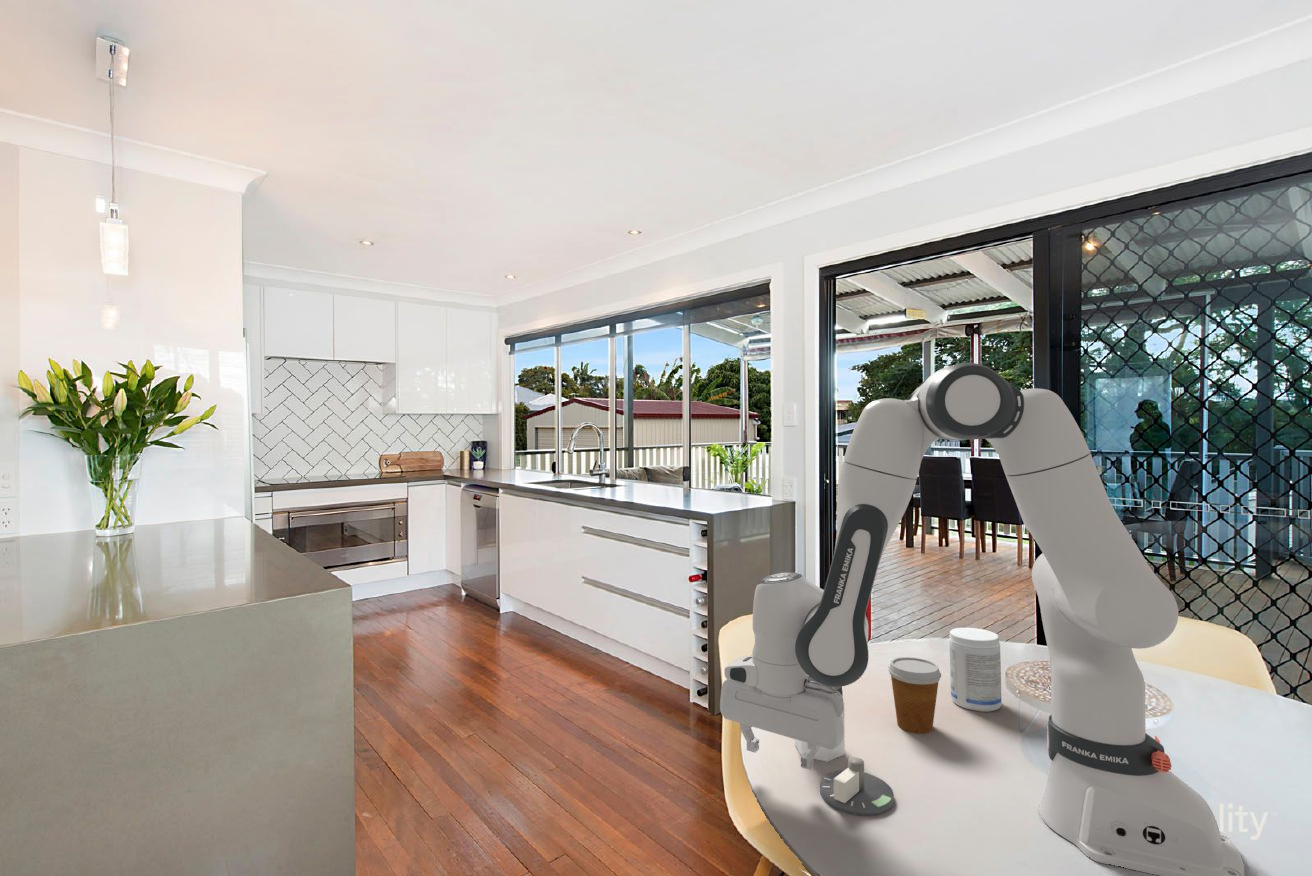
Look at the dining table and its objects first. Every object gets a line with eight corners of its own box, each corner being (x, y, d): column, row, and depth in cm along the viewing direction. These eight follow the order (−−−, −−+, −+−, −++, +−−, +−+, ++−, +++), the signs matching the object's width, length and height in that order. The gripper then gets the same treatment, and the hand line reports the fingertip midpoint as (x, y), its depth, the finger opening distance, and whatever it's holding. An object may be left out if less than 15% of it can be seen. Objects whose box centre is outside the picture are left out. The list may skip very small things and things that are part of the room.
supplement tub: (1010, 705, 132) (1009, 635, 132) (987, 718, 126) (986, 644, 126) (964, 690, 140) (963, 624, 140) (940, 701, 134) (940, 632, 134)
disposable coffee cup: (890, 734, 120) (889, 671, 120) (887, 713, 129) (886, 654, 129) (945, 741, 117) (944, 676, 117) (938, 719, 126) (937, 658, 126)
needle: (852, 780, 101) (852, 755, 101) (867, 786, 99) (866, 761, 99) (832, 797, 96) (831, 771, 96) (846, 804, 95) (846, 777, 95)
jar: (819, 767, 108) (819, 697, 108) (785, 747, 115) (784, 682, 115) (854, 752, 113) (853, 685, 113) (819, 734, 120) (818, 671, 120)
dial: (901, 791, 101) (901, 782, 101) (882, 826, 92) (882, 817, 92) (833, 770, 107) (833, 762, 107) (809, 802, 98) (809, 793, 98)
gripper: (849, 681, 100) (849, 769, 100) (733, 655, 111) (733, 734, 111) (836, 695, 94) (835, 788, 94) (715, 666, 106) (715, 749, 106)
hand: (779, 758), depth 103 cm, fingers open, 8 cm apart
